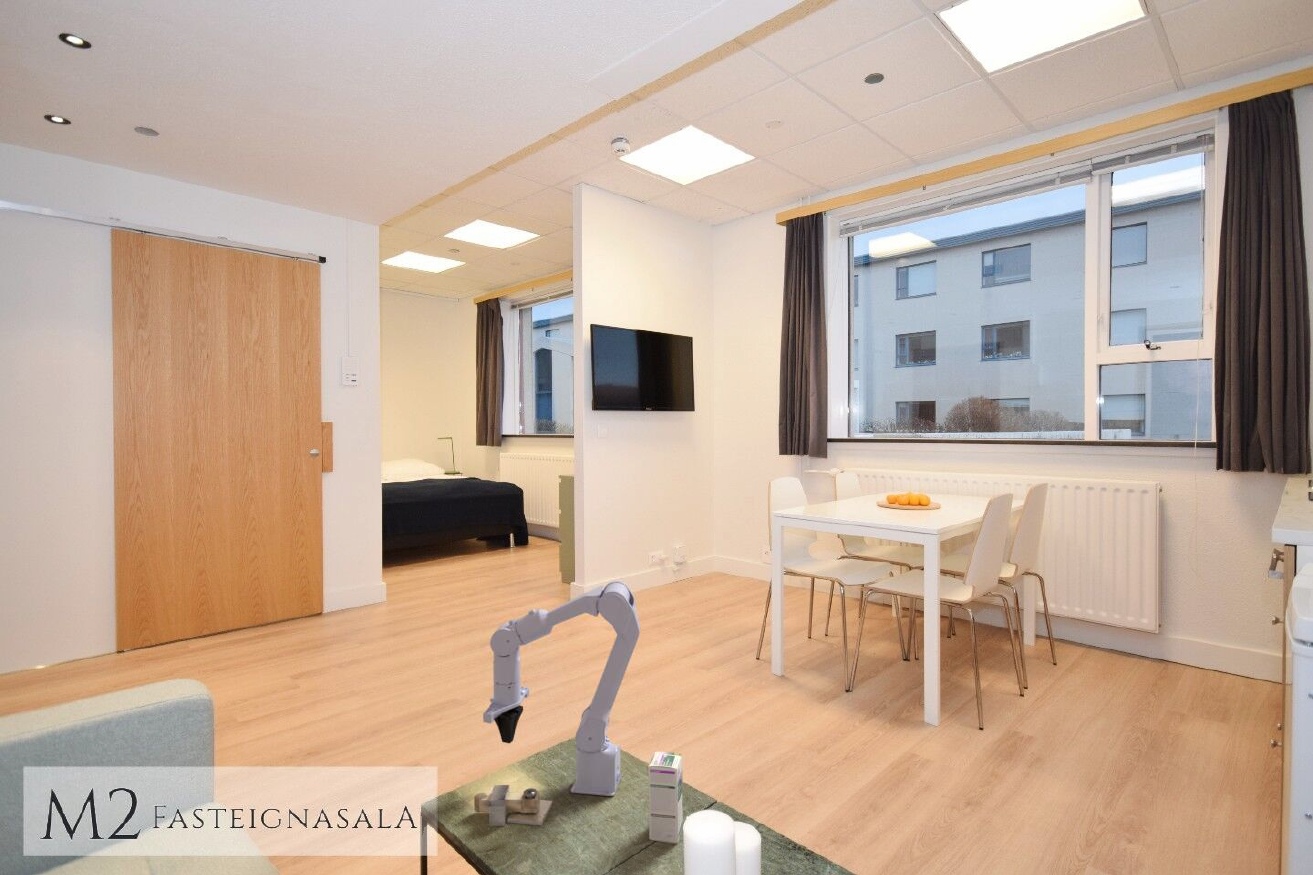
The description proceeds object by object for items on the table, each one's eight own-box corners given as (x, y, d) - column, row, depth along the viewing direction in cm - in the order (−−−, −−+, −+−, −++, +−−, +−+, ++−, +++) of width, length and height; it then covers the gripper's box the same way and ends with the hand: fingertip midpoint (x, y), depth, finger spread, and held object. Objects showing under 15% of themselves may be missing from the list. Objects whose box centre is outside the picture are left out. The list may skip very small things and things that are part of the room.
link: (539, 803, 133) (539, 791, 133) (537, 812, 130) (536, 800, 130) (476, 803, 133) (476, 791, 132) (472, 813, 129) (472, 800, 129)
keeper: (509, 809, 133) (509, 784, 132) (504, 825, 127) (504, 800, 127) (494, 809, 132) (494, 785, 132) (489, 826, 127) (489, 800, 127)
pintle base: (552, 804, 134) (552, 783, 134) (541, 825, 127) (541, 803, 127) (520, 801, 135) (519, 780, 135) (507, 822, 128) (507, 800, 128)
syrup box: (678, 844, 122) (678, 768, 121) (647, 840, 123) (647, 764, 122) (683, 825, 127) (683, 752, 127) (654, 822, 128) (654, 749, 128)
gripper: (510, 665, 150) (511, 723, 150) (470, 689, 136) (471, 753, 137) (536, 669, 147) (537, 728, 147) (499, 695, 134) (499, 759, 134)
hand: (507, 741), depth 142 cm, fingers closed
